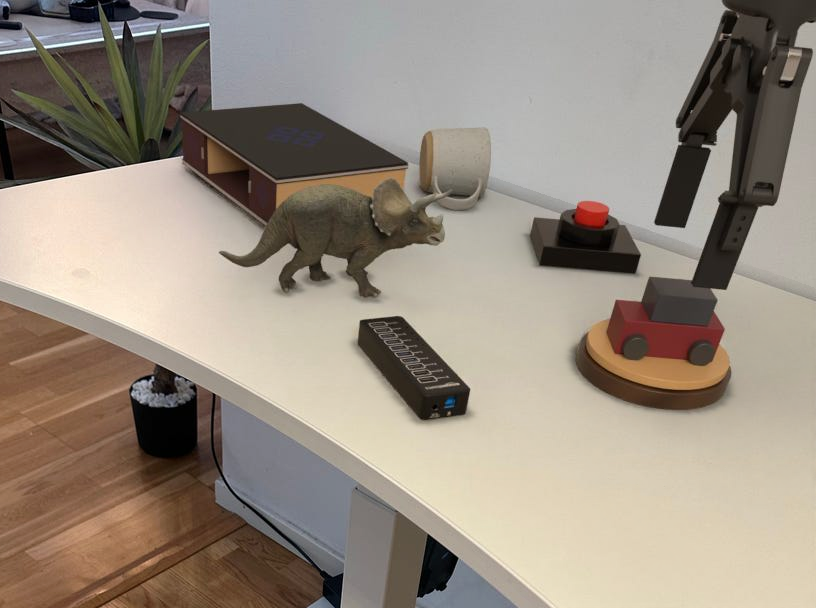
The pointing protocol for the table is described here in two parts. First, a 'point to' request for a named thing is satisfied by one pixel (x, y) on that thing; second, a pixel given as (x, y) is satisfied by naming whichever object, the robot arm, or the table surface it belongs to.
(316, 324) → the table surface
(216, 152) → the miniature wooden cabinet
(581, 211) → the button
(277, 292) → the table surface
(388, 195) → the toy dinosaur
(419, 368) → the multiport hub
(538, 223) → the control box
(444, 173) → the ceramic mug
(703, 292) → the toy car
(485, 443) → the table surface
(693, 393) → the turntable base
